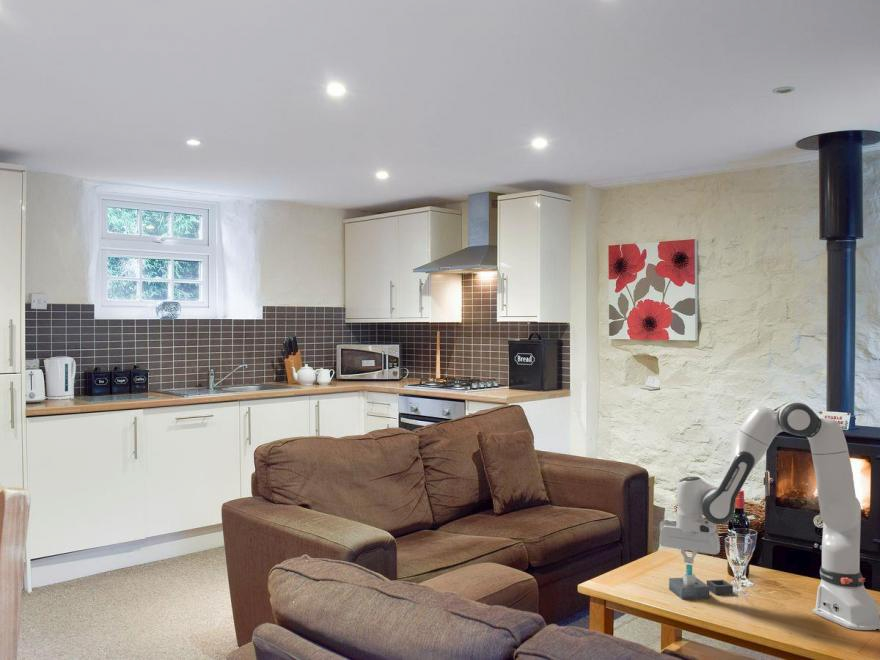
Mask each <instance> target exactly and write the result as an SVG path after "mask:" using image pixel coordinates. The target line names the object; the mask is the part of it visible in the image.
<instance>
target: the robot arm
mask: <svg viewBox="0 0 880 660" xmlns="http://www.w3.org/2000/svg"><path fill="white" fill-rule="evenodd" d="M782 432H784V433H785V432H786V433H789V434H790V435H793V436H798V437H804V438H805V437H806V438H807V440H808V443H809V445H810V452H811V458H812V462H813V463H812V464H813V469H814V474H815V481H816V489H817V490H816V491H817V498H818V506H819V512H820V517H821V520H822V521H823V522H822V523H823V525H822V540H821V565H820V569H819V577H820V579H821V580H820V583H819V585H818V587H817V592H816V593H817V594H816V602H815V607H814V608H813V609H812V612H813V613H814V614H815V615H817V616H820V617H822V618H825V619H826V620H829V621H831V622H833V623H836V624H838V625H840V626H842V627H844V628H847V629H850V630H857V631H872V630H873V631H877V630H876V629H879V630H880V608H879V605H878V602H877V599H874V598H873V596H872V595H871V594H870V592H869V591H868V590H867V589H866V588H865V585H864V582H866V578H865V577H863V575H862V572H861V571H860V569H861V568H860V565H861V564H860V563H861V562H860V561H861V560H860V559H861V556H860V555H861V553H860V551H861V550H860V549H861V548H860V547H861V526H862V525H861V524H862V523H861V522H862V521H861V519H862V513H861V512H862V505H861V503H860V500H859V499H858V498H857V494H856V489H855V481H854V474H853V472H854V471H853V468H852V462H851V458H850V452H849V448H848V443H847V440H846V437H845V433H844V431H843V428H842V426H841V424H840V422H838V421H837V420H836V419H832V418H828V417H824V418H820V417H819V416H818V415H817V414H816V413H815V412H814V410H813V409H812V408H811V407H810V406H809V405H807V404H805V403H804V402H801V401H797V400H796V401H789V402H785V403H784V404H782V405H779V407H776V408H774V409H770V408H768V407H765V406H764V407H763V406H757V407H755V408H754V409H752V411H751V412H750V413H749V414H748V415H747V416H746V417H745V419H744V420H743V422H742V423H741V425H740V427H739V428H738V430H737V432H736V434H735V435H734V437H733V441H732V443H731V447H730V454H731V455H730V464H729V466H728V469H727V471H726V473H725V475H724V477H723V478H722V481H721V482H720V484H719V485H718V486H715V485H712V484H710V483H708V482H706V481H705V480H703V479H702V478H701V477H698V476H687V477H683V478H681V479H680V480H678V482H677V488H676V504H677V505H676V506H677V508H676V509H677V510H676V513H675V514H676V515H675V516H676V517H675V520H668V519H663V520H662V521H660V522H659V532H660V534H659V542H658V543H659V545H660V546H661V547H664V548H665V547H666V548H671V549H672V548H673V549H677V550H680V553H681V555H682V558H683V562H684V563H687V564H690V565H692V564H694V562H695V560H694V559H695V557H696V555H698V553H701V554H708V555H715V556H716V555H717V554H719V553H720V551H721V543H720V536H719V534H718V532H717V525H724V524H727V523H729V522H730V521H731V520H732V518H733V517H734V513H735V509H736V508H735V503H736V499H737V497H738V495H739V493H740V491H741V490H742V487H744V484H745V482H746V481H747V479H748V477H749V475H750V473H751V472H752V471H753V470H754V468H755V467H756V465H757V464H758V463H759V462H760V460H762V457H764V455H765V454H766V452H767V451H768V449H769V447H770V445H771V444H772V443H773V441H774V438H775V437H776V436H777V435H778V434H780V433H782ZM704 517H705V518H704ZM687 551H690V552H691V554H692V556H688V555H687V553H686V552H687Z"/></svg>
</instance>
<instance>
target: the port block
mask: <svg viewBox="0 0 880 660" xmlns="http://www.w3.org/2000/svg"><path fill="white" fill-rule="evenodd" d="M668 590H669V591H671V592H672V593H673V594H674V595H676V596H677V597H678V598H679V599H681V600H693V599H694V600H698V599H700V600H701V599H710V591H709V586H708V585H707V583H705V582H703V581H702V580H700V579H699V578H697V577H696V576H695V585H685V584H684V583H683V577H672V578H671V577H670V578H668Z"/></svg>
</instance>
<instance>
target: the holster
mask: <svg viewBox="0 0 880 660" xmlns="http://www.w3.org/2000/svg"><path fill="white" fill-rule="evenodd" d="M706 585H708V586H709V592H711V593H712V594H714V595H715V596H721V595H723V596H724V595H733V594H734V593H733V590H734V589H733V588H734V585H732V584H731V583H729V582H728V581H726V580H725V579H712V580H711V579H710V580H707V579H706Z"/></svg>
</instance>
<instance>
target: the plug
mask: <svg viewBox="0 0 880 660" xmlns="http://www.w3.org/2000/svg"><path fill="white" fill-rule="evenodd" d="M685 566H686V568H685V571H686V572H682V573H683V575H682V576H683V577H682V578H683V583H684V584H685V585H695V577H696V574H694V573H693V565H692V564H690V563H687V564H686V565H685Z"/></svg>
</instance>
